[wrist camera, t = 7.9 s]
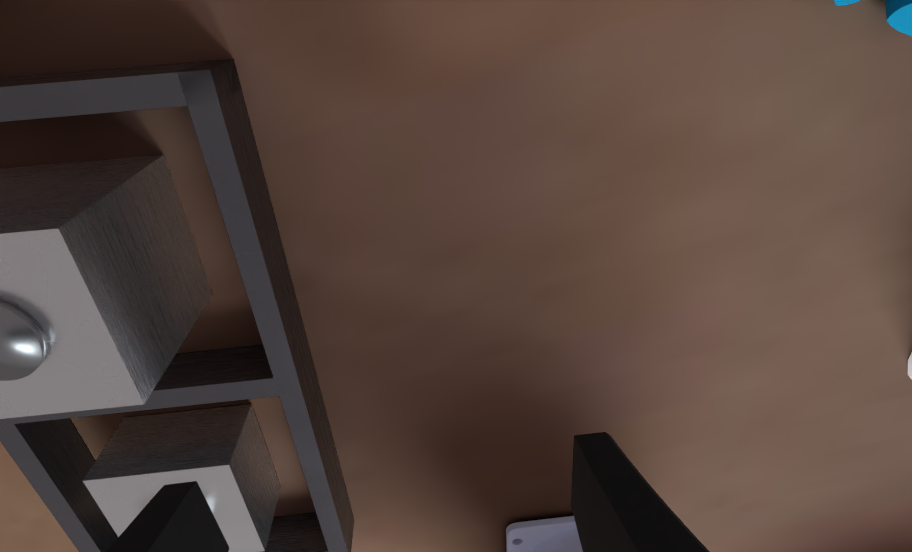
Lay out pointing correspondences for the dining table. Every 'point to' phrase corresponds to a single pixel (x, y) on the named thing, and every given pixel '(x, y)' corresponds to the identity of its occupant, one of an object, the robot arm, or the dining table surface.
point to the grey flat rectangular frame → (206, 372)
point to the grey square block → (92, 284)
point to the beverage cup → (910, 366)
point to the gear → (894, 13)
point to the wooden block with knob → (191, 470)
